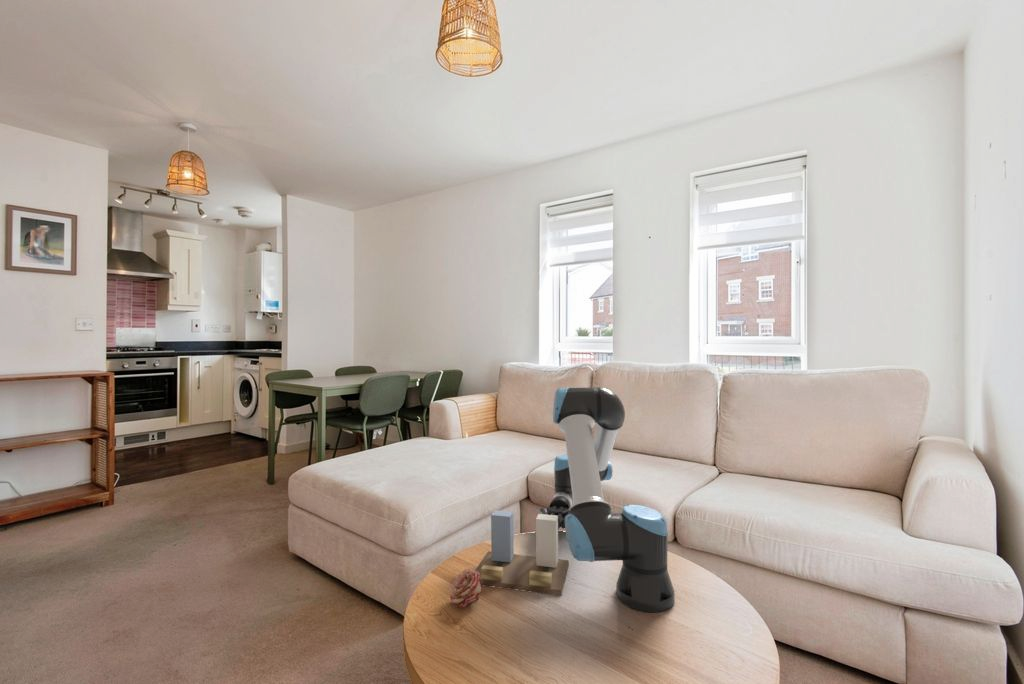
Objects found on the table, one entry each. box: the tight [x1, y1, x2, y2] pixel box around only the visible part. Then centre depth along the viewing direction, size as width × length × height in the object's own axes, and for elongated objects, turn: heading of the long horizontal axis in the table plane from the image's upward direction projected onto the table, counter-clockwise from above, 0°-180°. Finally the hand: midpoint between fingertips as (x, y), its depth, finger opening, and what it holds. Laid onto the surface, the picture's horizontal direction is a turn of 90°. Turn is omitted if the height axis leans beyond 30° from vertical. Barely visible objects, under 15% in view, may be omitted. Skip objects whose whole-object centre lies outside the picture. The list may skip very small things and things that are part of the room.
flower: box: [449, 568, 483, 608], centre depth 121 cm, size 10×9×8 cm
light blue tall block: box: [490, 509, 515, 563], centre depth 141 cm, size 6×4×14 cm
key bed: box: [475, 550, 570, 596], centre depth 135 cm, size 26×17×4 cm, turn 76°
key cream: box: [535, 513, 559, 568], centre depth 138 cm, size 6×4×14 cm
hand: (550, 532), depth 145 cm, fingers closed
